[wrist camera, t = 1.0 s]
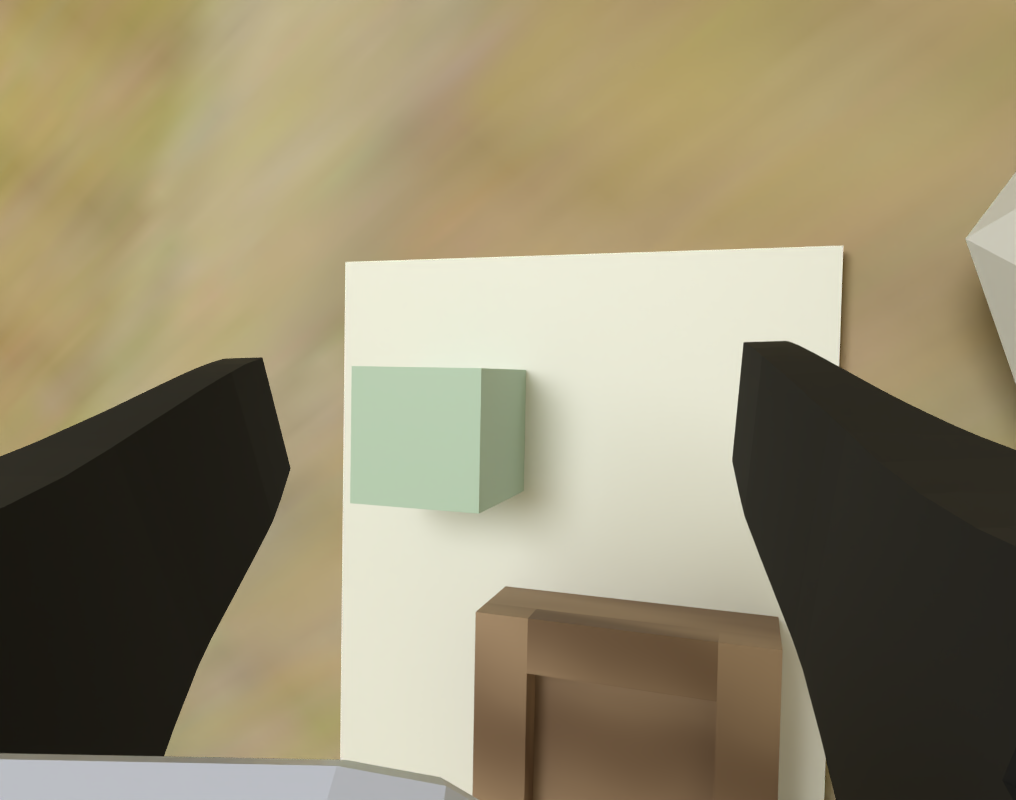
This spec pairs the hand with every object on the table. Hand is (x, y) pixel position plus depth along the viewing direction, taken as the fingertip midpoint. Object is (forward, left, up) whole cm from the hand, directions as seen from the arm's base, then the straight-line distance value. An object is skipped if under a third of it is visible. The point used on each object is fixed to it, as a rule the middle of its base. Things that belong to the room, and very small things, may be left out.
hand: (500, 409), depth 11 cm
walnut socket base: (-11, 0, -14) cm, 18 cm away
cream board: (-6, +2, -15) cm, 16 cm away
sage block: (-1, +6, -14) cm, 15 cm away
